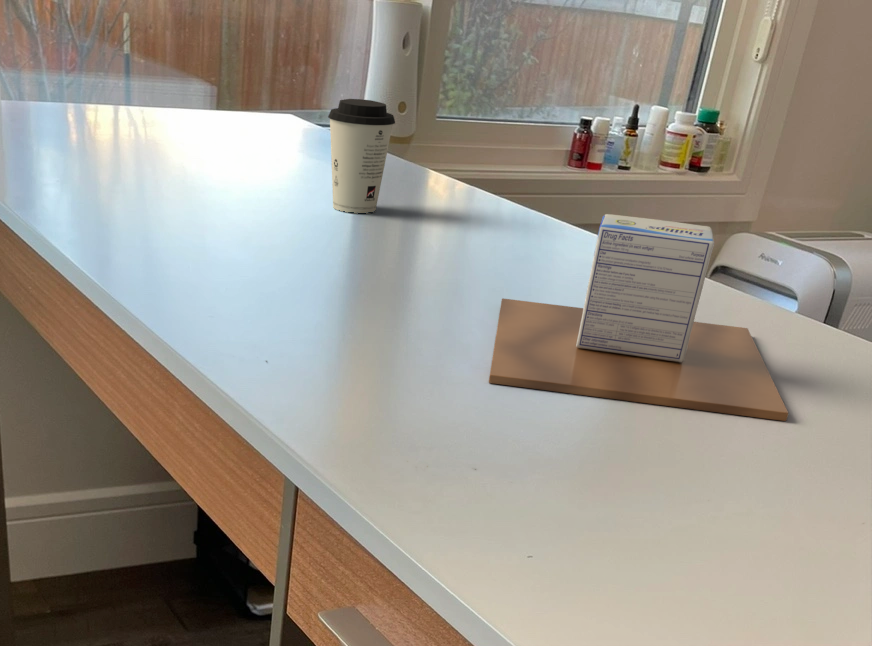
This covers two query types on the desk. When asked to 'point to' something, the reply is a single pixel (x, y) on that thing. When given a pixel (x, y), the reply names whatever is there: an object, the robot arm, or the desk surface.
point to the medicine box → (644, 287)
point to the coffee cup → (358, 153)
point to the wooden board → (632, 365)
